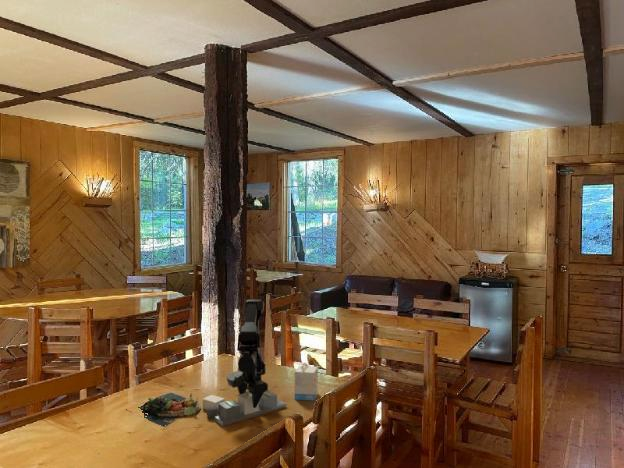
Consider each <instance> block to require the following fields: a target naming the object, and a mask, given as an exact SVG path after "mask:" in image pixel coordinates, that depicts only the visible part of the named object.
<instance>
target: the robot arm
mask: <svg viewBox="0 0 624 468" xmlns="http://www.w3.org/2000/svg"><path fill="white" fill-rule="evenodd" d="M242 309H243V311H245V318H244V319H245V321H244V324H243V325H242V326H241V327H240V330H239V331H240V332H238V335H237V336H238V337H237V347H236V351H238V352H240V355H239V356H240V357H239V359H238V360H237V361H238V362H237V366H238V367H237V370H236V371H232V373H230V374H229V375H227V376H226V381H227V384H228V386H231V388H233V389H235V388H237V392H238V395H240V394H244V393H246V392H247V389H248V392H249V393H250V394H252V401H253V408H256V407H257V405H258V403H259V401H260V399H261V397H262V395H263V393H264V392H266V391H268V390H269V384H268V383H267V382H265V381H264V380H262V376H264V375H266V369H267V368H266V364H265V360H263V355H262V353H261V352H260V347H261V335H260V319H261V317H262V316H263V311H264V310H265V302H264V301H262V299H246V300H245V301H243V308H242Z"/></svg>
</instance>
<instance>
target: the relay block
mask: <svg viewBox="0 0 624 468" xmlns="http://www.w3.org/2000/svg"><path fill="white" fill-rule="evenodd" d="M225 401H226V398H224V397H221V396H217V395H215V394H210V395H207V396H206V397H204V398H202V409H204V410H205V411H207V409H208V408H209V407H218V404H219V403H222V402H225Z"/></svg>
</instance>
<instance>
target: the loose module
mask: <svg viewBox="0 0 624 468" xmlns="http://www.w3.org/2000/svg"><path fill="white" fill-rule="evenodd" d="M237 403H239V404H240V405H241V413H243V414H244V415H246V414H250V413H253V412H257V411H259V403H258V405H257V407H256V408H253V401H252V394H250V393H249V391H246V393H244V394H240V395H239V394H237Z"/></svg>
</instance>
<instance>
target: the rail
mask: <svg viewBox="0 0 624 468" xmlns="http://www.w3.org/2000/svg"><path fill="white" fill-rule="evenodd" d="M285 408H287V402H285V401H283V400H281V399H280V398H278V394H276V393H274V392H273V391H271V390H270V389H268V390H267V391H266V392H264V393H263V395H262V397H261V399H260V401H259V411H257V412H253V413H250V414H246V415H244V414H243V413H241V405H240V404H239V403H238V401H237V400H236V401H235V400H234V399H231V400H225V402H222V403H219V404H218V416H215V418H214V421H215V422H216V423H217V424H218V425H219V426H220V427H225V426H228V425H231V424H235V423H238V422H242V421H245V420H248V419H252V418H254V417H255V418H256V417H258V416H262V415H265V414H268V413H271V412H275V411H279V410H283V409H285Z"/></svg>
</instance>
